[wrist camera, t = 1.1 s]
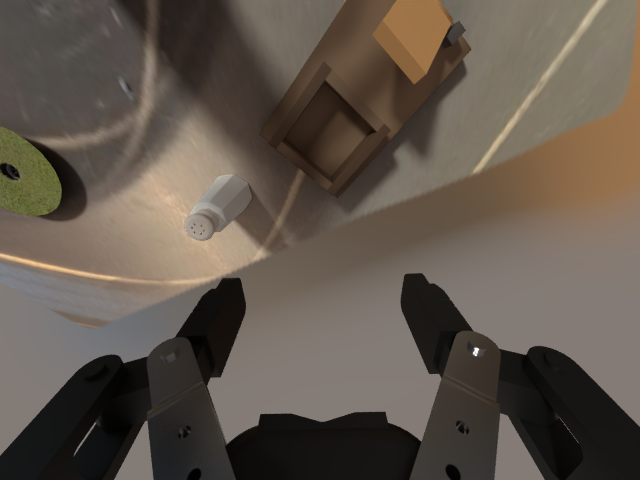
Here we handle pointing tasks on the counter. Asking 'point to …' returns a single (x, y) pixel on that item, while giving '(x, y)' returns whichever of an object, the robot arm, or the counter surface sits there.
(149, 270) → the counter surface
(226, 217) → the salt shaker
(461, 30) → the brown open tray piece
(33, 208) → the green abrasive disc
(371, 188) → the counter surface
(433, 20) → the tan flat block
